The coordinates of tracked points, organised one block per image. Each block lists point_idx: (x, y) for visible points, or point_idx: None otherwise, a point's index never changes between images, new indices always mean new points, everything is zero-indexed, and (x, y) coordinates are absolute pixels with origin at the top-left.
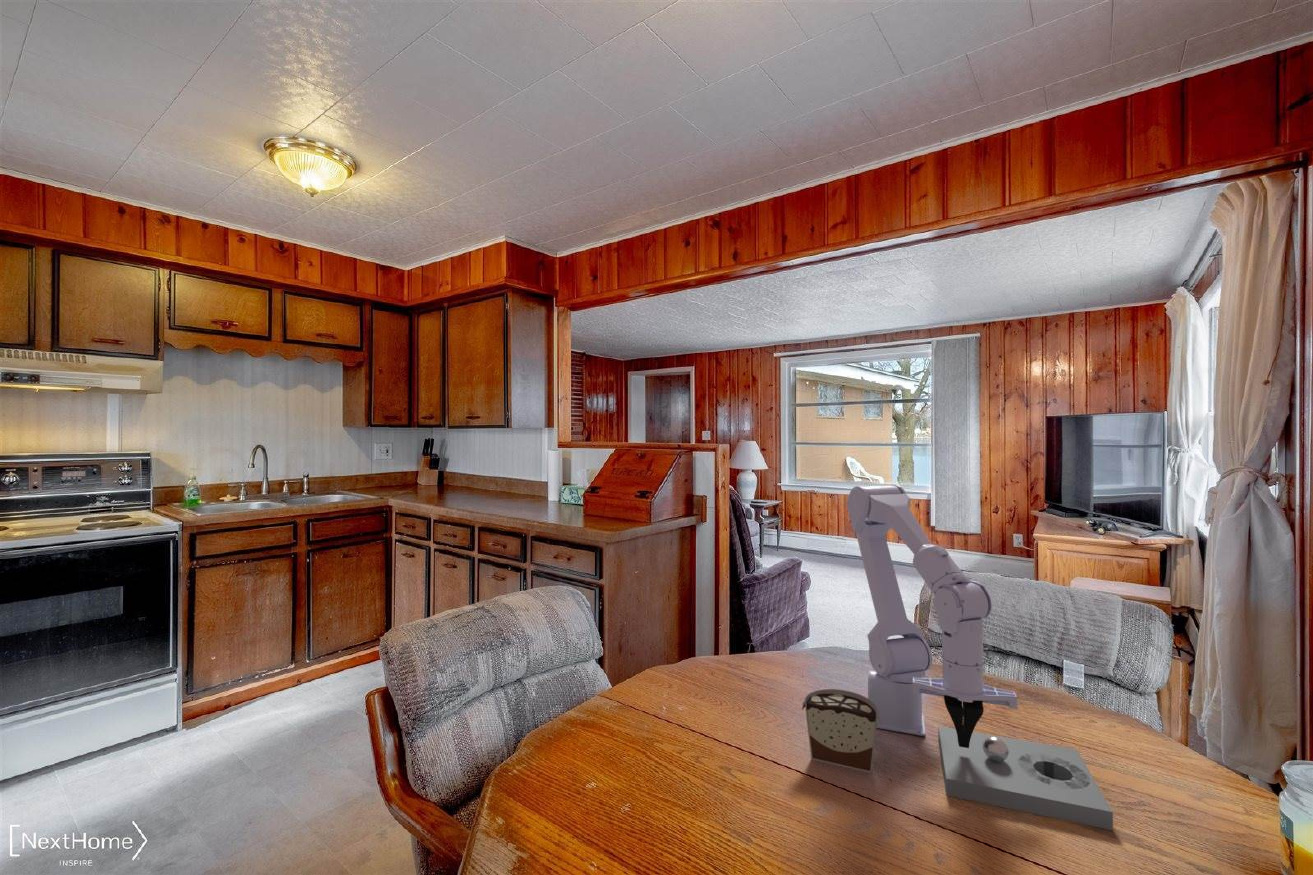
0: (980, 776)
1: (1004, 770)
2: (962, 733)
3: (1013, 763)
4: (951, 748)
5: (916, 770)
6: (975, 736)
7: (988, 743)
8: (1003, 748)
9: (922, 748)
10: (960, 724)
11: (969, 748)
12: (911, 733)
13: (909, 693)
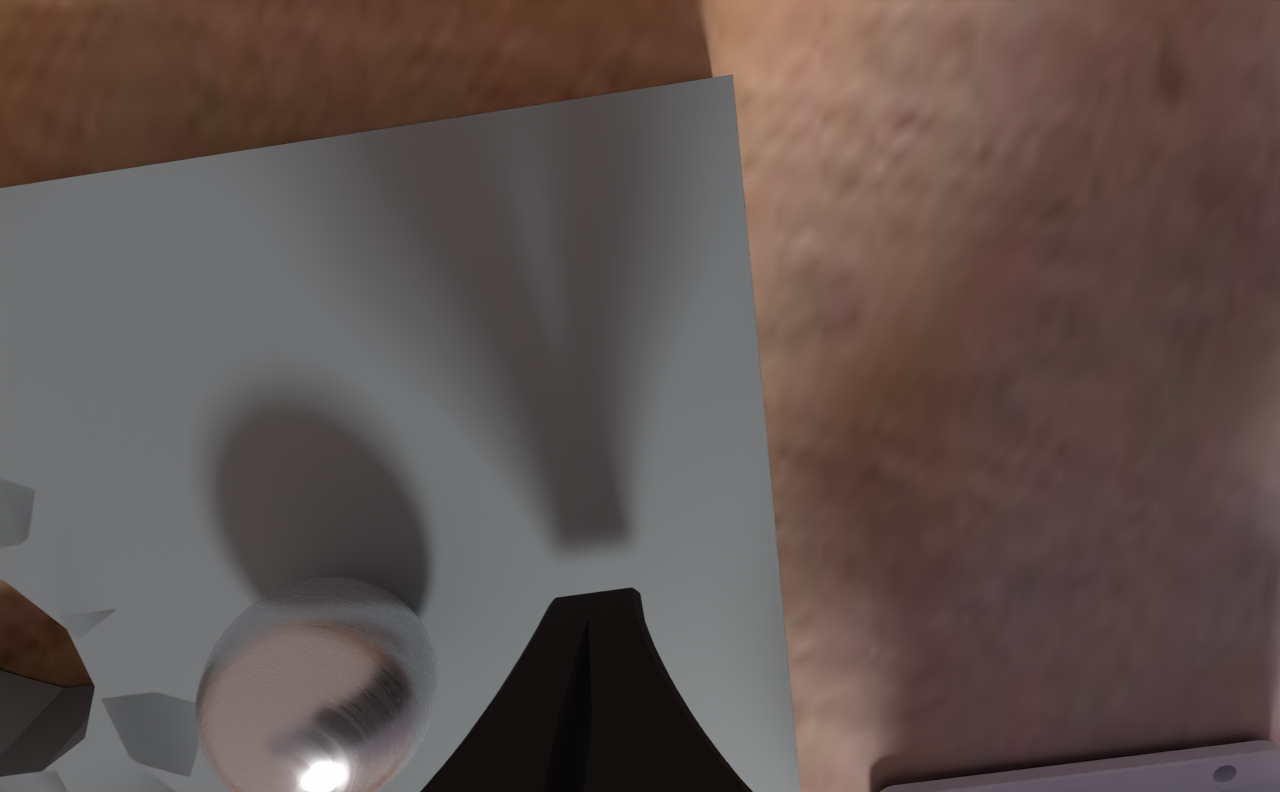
0: (437, 294)
1: (270, 500)
2: (599, 673)
3: None
4: (703, 627)
5: (944, 335)
6: None
7: (353, 689)
8: (215, 676)
9: (893, 648)
10: (619, 751)
11: None
12: (971, 778)
13: None
